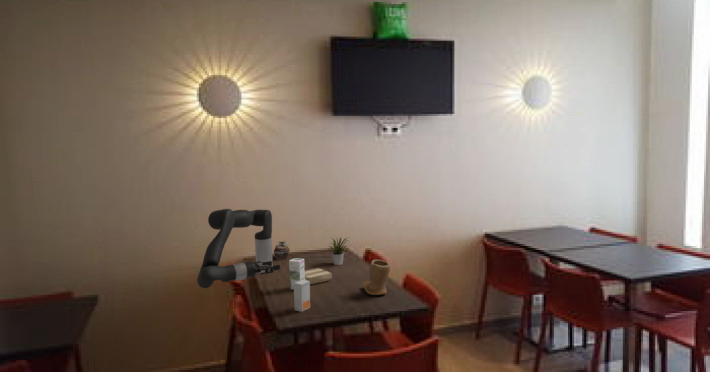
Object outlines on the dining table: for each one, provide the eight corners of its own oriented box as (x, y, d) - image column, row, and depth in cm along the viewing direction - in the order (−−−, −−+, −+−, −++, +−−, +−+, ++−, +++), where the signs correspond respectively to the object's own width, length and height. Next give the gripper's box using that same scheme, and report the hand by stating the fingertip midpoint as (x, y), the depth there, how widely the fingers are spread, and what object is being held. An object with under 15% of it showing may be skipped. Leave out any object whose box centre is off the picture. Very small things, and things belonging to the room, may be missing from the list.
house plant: (357, 262, 283) (356, 234, 281) (344, 268, 271) (343, 239, 270) (336, 259, 291) (336, 232, 289) (323, 265, 279) (322, 237, 277)
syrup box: (305, 287, 240) (304, 258, 238) (300, 290, 234) (299, 261, 233) (295, 286, 242) (294, 257, 240) (289, 289, 236) (288, 260, 235)
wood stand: (297, 280, 252) (296, 272, 251) (318, 275, 259) (318, 267, 259) (309, 286, 241) (309, 278, 241) (332, 281, 249) (331, 273, 248)
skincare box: (302, 312, 206) (301, 284, 205) (294, 310, 209) (293, 283, 207) (310, 307, 211) (310, 280, 210) (303, 306, 214) (302, 279, 212)
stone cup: (392, 295, 224) (392, 263, 223) (367, 297, 223) (366, 265, 221) (386, 285, 239) (385, 255, 238) (362, 287, 237) (361, 257, 236)
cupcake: (274, 256, 301) (273, 240, 300) (290, 255, 302) (289, 239, 301) (273, 260, 292) (272, 244, 291) (289, 259, 293) (289, 243, 292)
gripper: (249, 265, 214) (282, 260, 224) (236, 259, 226) (268, 254, 235) (249, 282, 215) (282, 276, 224) (237, 275, 227) (269, 269, 236)
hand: (275, 265), depth 230 cm, fingers open, 8 cm apart
